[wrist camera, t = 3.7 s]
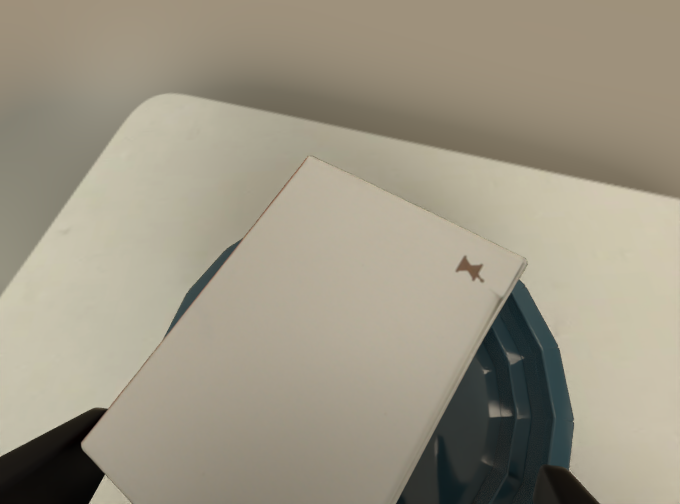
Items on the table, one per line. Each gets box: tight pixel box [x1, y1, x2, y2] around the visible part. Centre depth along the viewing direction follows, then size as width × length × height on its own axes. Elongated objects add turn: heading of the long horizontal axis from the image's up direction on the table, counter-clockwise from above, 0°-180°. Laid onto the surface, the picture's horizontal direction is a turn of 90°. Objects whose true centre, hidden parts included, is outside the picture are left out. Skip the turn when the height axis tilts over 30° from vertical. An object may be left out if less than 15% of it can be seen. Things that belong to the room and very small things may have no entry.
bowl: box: [162, 238, 574, 504], centre depth 15 cm, size 14×14×4 cm
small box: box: [81, 156, 528, 504], centre depth 12 cm, size 8×6×10 cm
